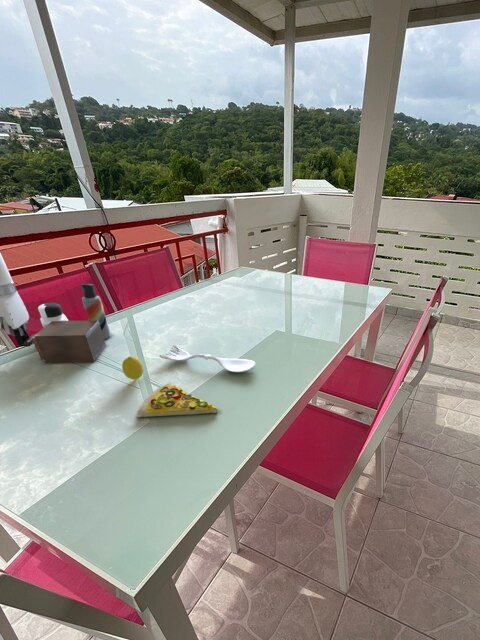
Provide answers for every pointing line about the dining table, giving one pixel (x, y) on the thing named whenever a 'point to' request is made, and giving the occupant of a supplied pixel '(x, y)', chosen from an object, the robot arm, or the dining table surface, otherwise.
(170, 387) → the pizza slice
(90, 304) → the lotion bottle
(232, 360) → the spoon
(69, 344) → the cabinet
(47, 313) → the container
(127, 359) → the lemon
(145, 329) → the dining table surface
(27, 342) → the drawer
